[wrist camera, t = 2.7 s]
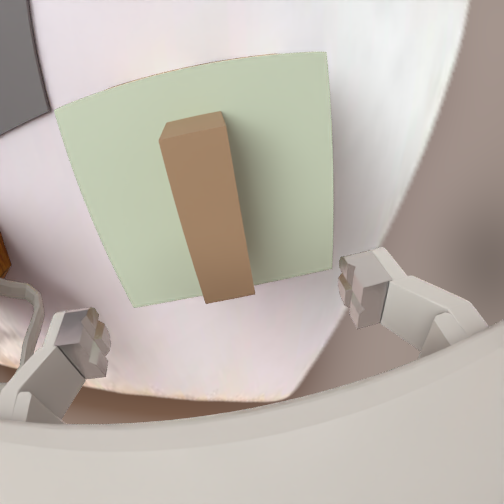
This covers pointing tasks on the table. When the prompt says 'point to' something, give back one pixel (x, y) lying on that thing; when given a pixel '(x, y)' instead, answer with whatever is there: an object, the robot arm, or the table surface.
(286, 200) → the lid
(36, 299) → the mug
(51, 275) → the table surface
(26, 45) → the mat
